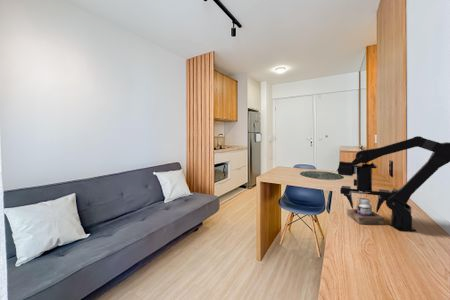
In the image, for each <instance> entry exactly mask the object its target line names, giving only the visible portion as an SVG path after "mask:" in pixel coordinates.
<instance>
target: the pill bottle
mask: <svg viewBox="0 0 450 300" xmlns="http://www.w3.org/2000/svg"><path fill="white" fill-rule="evenodd" d="M358 201H359V202H358V203H357V207H356V208H357V209H358V214H359V215H360V216H372V211H373V206H372V204H370V203H371V201H370V198H366V197H360V198H359V199H358Z"/></svg>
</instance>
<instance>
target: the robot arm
mask: <svg viewBox="0 0 450 300" xmlns="http://www.w3.org/2000/svg"><path fill="white" fill-rule="evenodd" d="M417 147H418V148H421V149H424V150H426V151H430V152H431V155H430V156H429V158H428V159H427V161H426V162H425V163H424V164H423V165H422V166H421V167H420V168H419V170H417V171H416V173H415V174H413V175H412V177H411V178H409V179H408V180H407V182H406V183H405V184H403V186H402V187H400V188H398V189H396V188H395V187H393V188H392V190H391V191H390V190H389V189H380V188H379V189H378V191H377V190H373V169H378V165H376V164H375V162H372V161H374V160H376V159H378V158H380V157H383V156H387V155H390V154H394V153H398V152H402V151H406V150H409V149H413V148H417ZM369 162H371V163H369ZM449 163H450V142H439V141H435V140H431V139H428V138H425V137H422V136H420V135H417V136H413V137H411V138H408V139H404V140H401V141H398V142H394V143H392V144H388V145H384V146H381V147H376V148H375V147H374V148H367V149H362V150H360V151H358V152H357V153H356V154H355V158H354V160H352V161H341V160H340V161H339V162H338V168H337V174H338V175H339V176H345V177H346V176H349V177H353V176H354V175H356V178H354V179H353V186H354V187H356V188H352V187H351V186H349V185H342V186H341V187H340V190H339V191H340V195H343V196H344V197H345V198H346V199H347V201H349V202H348V203H349V204H350V207H351V209H354V202H353V196H352V195H353V194H361V195H362V194H363V195H371V196H377V202H376V208H375V209H376V211H375V213H378V212H379V210H380V208H381V206H382V205H383V204H384V202H385V205H386V207H387V208H388V209H390V210H391V222H388V223H387V224H388V226H391V227H393V228H394V229H396V230H397V231H399V232H402V231H403V232H405V231H406V232H417V229H416V228H415V227H413V216H412V206H411V205H409V204H408V201H409V200H410V198H411V197H412V195H413V194H414V193H415V192H416V191H417V190H418V189H419V188H420V187H421V186H423V185H424V183H425V182H427V180H428V179H429V178H431V176H433V174H435V173H436V172H437V171H438V170H439V169H440V168H442V167H444V166H446V165H448V164H449ZM359 164H361V165H359Z"/></svg>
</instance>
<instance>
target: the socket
mask: <svg viewBox="0 0 450 300" xmlns="http://www.w3.org/2000/svg"><path fill="white" fill-rule="evenodd" d="M346 214H347V216H348V217H349V218H350V219H352V220H353V221H354V222H355V223H357V224H358V225H385V223H384V219H385V218H384V217H383V216H382V215H380V214H378V213H377V212H375V211H373V210H372V216H360V215H359V214H358V209H355V208H353V209H352V208H351V209H350V208H347V213H346Z"/></svg>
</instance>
